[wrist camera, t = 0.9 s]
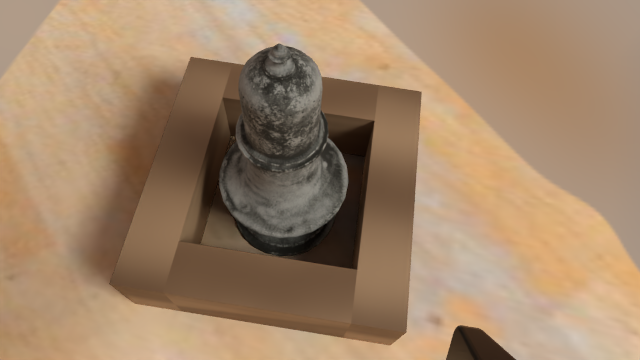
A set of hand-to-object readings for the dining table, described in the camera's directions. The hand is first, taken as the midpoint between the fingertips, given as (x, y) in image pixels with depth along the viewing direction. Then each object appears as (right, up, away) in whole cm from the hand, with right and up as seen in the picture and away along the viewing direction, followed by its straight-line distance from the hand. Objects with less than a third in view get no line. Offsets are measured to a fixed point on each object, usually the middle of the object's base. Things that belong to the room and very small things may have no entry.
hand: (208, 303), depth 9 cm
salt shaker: (0, +1, +16) cm, 16 cm away
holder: (0, +1, +16) cm, 16 cm away
